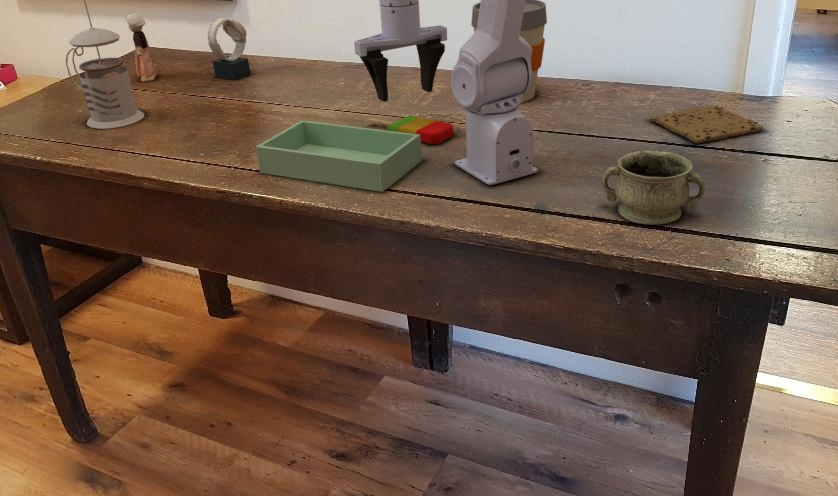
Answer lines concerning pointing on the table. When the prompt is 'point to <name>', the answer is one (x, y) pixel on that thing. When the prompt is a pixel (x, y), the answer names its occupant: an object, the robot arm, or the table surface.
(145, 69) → the grandmother figurine
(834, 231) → the table surface
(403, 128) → the popsicle
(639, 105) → the table surface
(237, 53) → the watch
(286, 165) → the tote
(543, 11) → the reusable coffee cup
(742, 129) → the cookie
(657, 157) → the vessel
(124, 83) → the french press
